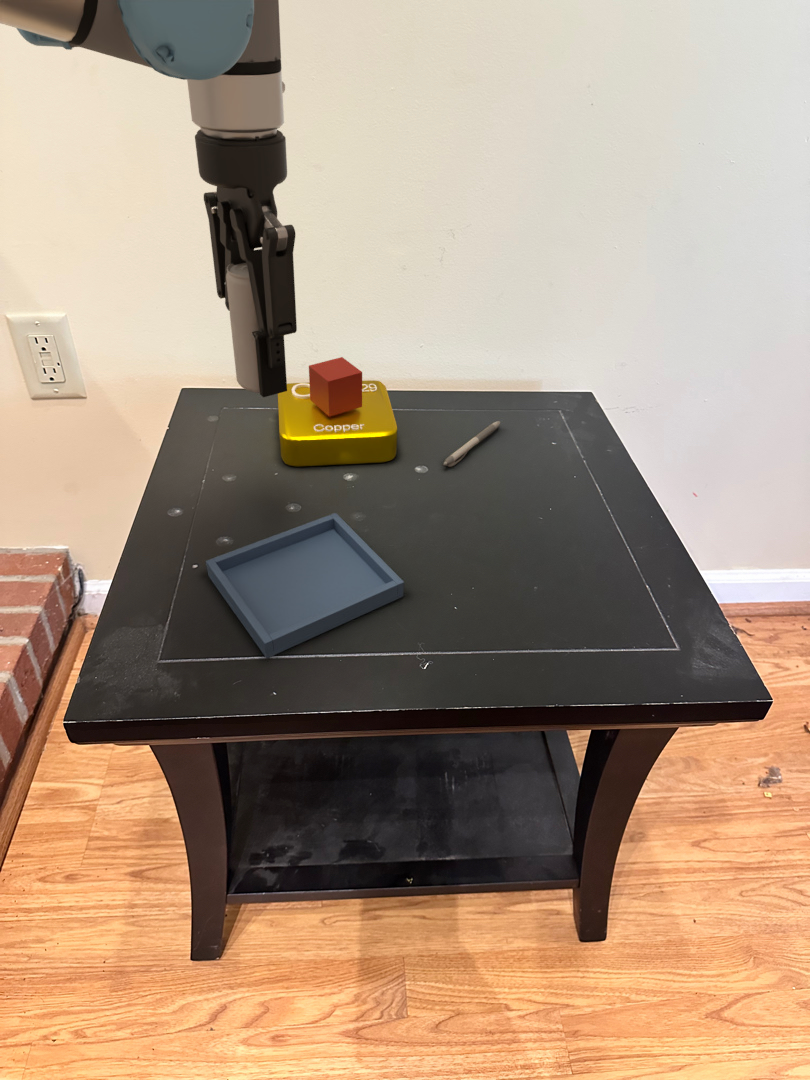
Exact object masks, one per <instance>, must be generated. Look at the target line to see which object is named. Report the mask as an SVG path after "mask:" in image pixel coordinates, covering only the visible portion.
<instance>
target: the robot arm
mask: <svg viewBox="0 0 810 1080" xmlns="http://www.w3.org/2000/svg"><path fill="white" fill-rule="evenodd" d="M0 24H2V25H4V26H8V27H12V28H16V30H17V31H18V33H19V34H20V35H21V37H22V38H23V40H25V41H26V42H28V43H29V44H31V45H33V46H36V47H54V48H57V47H58V48H63V49H65V50H67V51H68V50H69V51H71V50H73V49H75V48H81V49H86V50H89V51H91V52H92V51H93V52H96V53H100V54H102V55H107V56H109V57H113V58H117V59H120V60H124V61H127V62H131V63H134V64H137V65H141V66H145V67H147V68H150V69H152V70H153V71H155V72H156V73H159V74H162V75H163V76H166V77H169V78H175V79H179V80H183V81H185V80H186V82H187V91H188V98H189V107H190V115H191V122H193V124H194V125H195V126H197V127H199V128H200V129H198V130H197V131H196V134H195V135H194V142H195V151H196V158H197V168H198V175H199V177H200V179H202V181H204V182H205V183H207V184H209V185H211V186H213V187H216V191H209V192H208V191H207V192H204V193H203V202H204V205H205V210H206V215H207V218H208V226H209V227H208V228H209V234H210V244H211V252H212V260H213V267H214V268H213V269H214V270H213V271H214V277H215V278H214V279H215V286H216V287H215V288H216V294H217V296H218V298H219V299H224V304H225V307H226V309H227V311H228V312H230V310H229V301H228V291H227V281H226V274H227V266H228V265H230V264H234V265H237V264H241V263H247V267H248V272H249V278H250V283H251V289H252V294H253V300H254V305H255V310H256V316H257V321H258V327H259V331H254V332H252V334H253V337H254V338H255V343H256V355H257V366H258V378H259V389H260V393H259V395H260V396H261V397H262V398H267V397H270V396H274V395H278V393H282V392H285V391H287V384H288V383H287V382H288V381H287V379H288V378H287V365H286V364H287V363H286V347H285V336H287V335H292V334H295V333H297V331H298V328H297V327H298V326H297V306H296V287H295V285H296V284H295V270H294V269H295V267H294V266H295V265H294V263H295V262H294V250H295V243H296V229H295V227H294V225H293V224H285V225H283V223H281V222H280V220H279V219H278V208H277V203H276V200H275V195H274V190H275V188H277V186H278V185H280V184H283V182H285V180H286V179H287V177H288V162H287V160H288V159H287V141H286V140H287V139H286V136H285V135H284V133H283V132H282V131H280V130H279V129H280V128H282V126H283V124H284V123H285V114H284V113H285V111H284V95H283V94H284V93H285V91H286V83H284V81H283V76H282V49H281V27H280V26H281V24H280V2H279V0H0ZM229 320H230V319H229ZM230 322H231V320H230ZM231 339H232V338H231ZM232 341H233V339H232Z"/></svg>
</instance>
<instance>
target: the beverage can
mask: <svg viewBox="0 0 810 1080" xmlns="http://www.w3.org/2000/svg"><path fill="white" fill-rule="evenodd" d="M226 281H227V291H228V301H229V310H230V311H229V310H228V311H229V320H231V321H230V329H231V339H233V340H232V348H233V358H234V366H235V376H236V378H235V379H236V382H237V383H238V385H239V386H240V387H241V388H242V389H244V390H245V391H248V392H251V393H256V394H260V389H259V378H258V366H257V355H256V343H255V338H254V337H253V334H252V332H254V331H259V327H258V321H257V316H256V310H255V305H254V300H253V294H252V289H251V283H250V278H249V272H248V267H247V263H241V264H237V265H234V264H230V265H228V266H227V274H226Z"/></svg>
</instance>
